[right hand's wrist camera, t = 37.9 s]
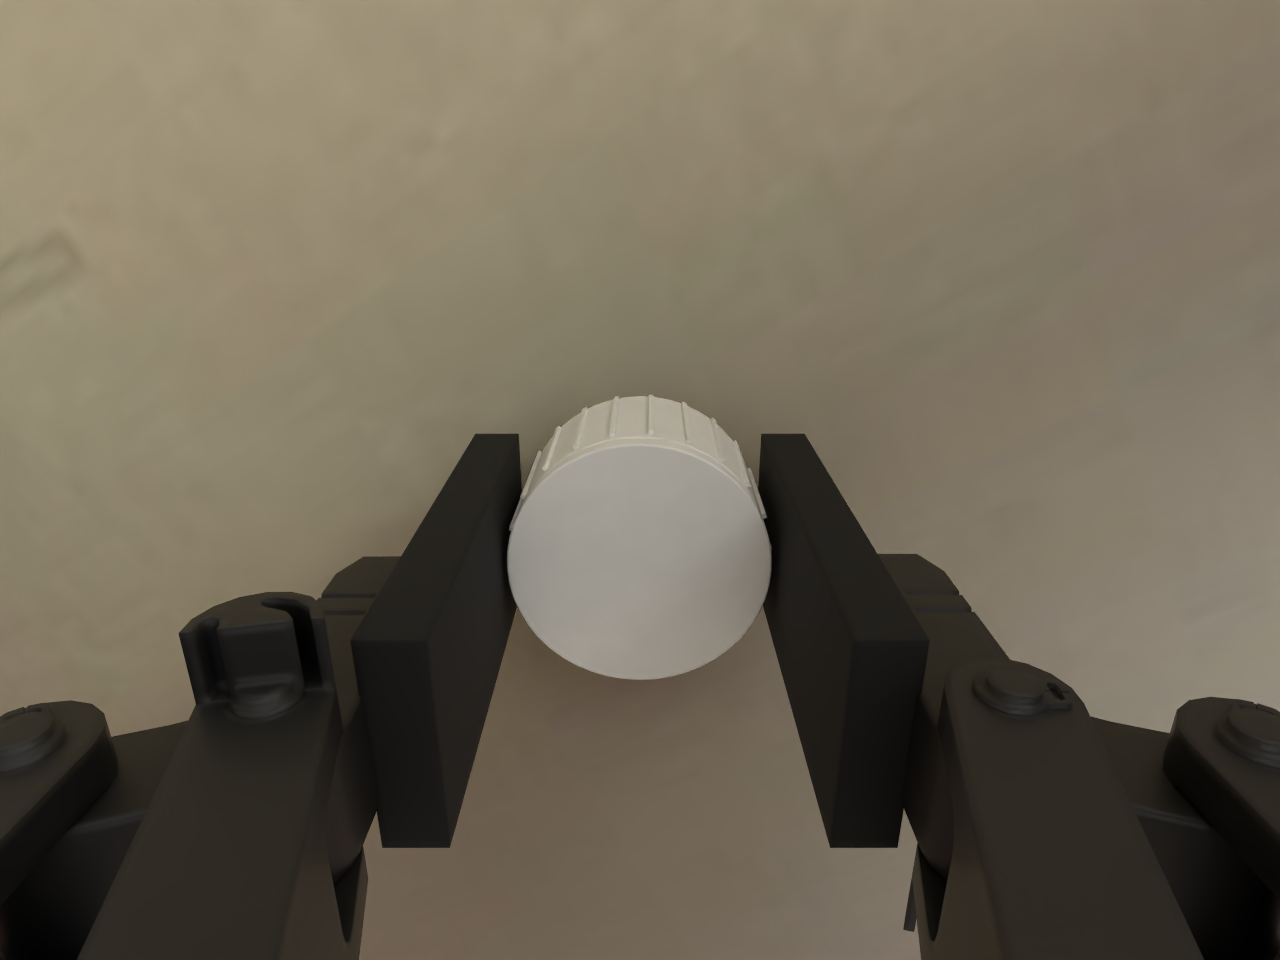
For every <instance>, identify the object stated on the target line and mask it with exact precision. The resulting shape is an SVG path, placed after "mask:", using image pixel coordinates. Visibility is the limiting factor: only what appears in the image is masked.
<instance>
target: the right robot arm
mask: <svg viewBox="0 0 1280 960" xmlns="http://www.w3.org/2000/svg"><path fill="white" fill-rule="evenodd" d="M758 492H759V495H760V498H761V501H762V504H763V507H764V510H765V513H766V516H767V518H764V519H763V520H764V523H765V526H766V530H767V533H768V536H769V540H770V543H771V546H772V551H771V553H772V571H771V578H770V585H769V588H768V591H767V595H766V598H765V601H764V603H763V607H764V611H765V615H766V618H767V622H768V625H769V629H770V633H771V636H772V640H773V643H774V647H775V651H776V654H777V658H778V661H779V665H780V669H781V672H782V676H783V679H784V683H785V687H786V690H787V694H788V697H789V701H790V705H791V708H792V712H793V715H794V719H795V723H796V726H797V730H798V733H799V737H800V741H801V744H802V748H803V751H804V755H805V759H806V762H807V766H808V769H809V773H810V777H811V780H812V784H813V787H814V791H815V795H816V798H817V802H818V805H819V809H820V813H821V816H822V820H823V823H824V827H825V831H826V834H827V838H828V841H829V845H830V848H898V841H899V835H900V829H901V822H902V816H903V809H904V810H905V812H906V815H907V817H908V819H909V822H910V824H911V827H912V829H913V832H914V834H915V837H916V839H917V841H918V844H917V849H916V855H915V861H914V867H913V873H912V879H911V885H910V891H909V897H908V903H907V909H906V915H905V922H904V929H903V930H907V931H913V932H914V929H915V924H916V919H917V925H918V934H919V943H920V952H921V960H1280V712H1279V711H1277V710H1275V709H1273V708H1271V707H1267V706H1264V705H1261V704H1258V703H1257V705H1256V704H1254V703H1253V702H1249V701H1245V700H1240V699H1227V698H1217V697H1207V698H1201V699H1194V700H1189V701H1188V702H1186V703H1185V704H1184V705H1183V706H1181V707H1180V708H1179V709H1177V712H1176V715H1175V718H1174V722H1173V725H1172V728H1171V732H1170V733H1165V732H1160V731H1155V730H1150V729H1145V728H1140V727H1134V726H1129V725H1124V724H1119V723H1114V722H1109V721H1106V720H1102V719H1098V718H1094V717H1090V715H1089V713H1088V711H1087V709H1086V707H1085V705H1084V703H1083V702H1082V700H1081V699H1080V698H1079V697H1078V695H1077V694H1076V693H1075V692H1074V690H1073V689H1072V688H1071V687H1070V686H1068V685H1067V684H1065V683H1064V682H1062V681H1061V680H1059V679H1058V678H1056V677H1055V676H1054V675H1052V674H1050V673H1048V672H1045V671H1043V670H1041V669H1038V668H1036V667H1033V666H1031V665H1028V664H1026V663H1021V662H1016V661H1012V660H1010V659H1009V658H1008V656H1007V655H1006V654H1005V652H1004V651H1003V650H1002V648H1001V647H1000V646H999V644H998V643H997V642H996V640H995V639H994V638H993V636H992V635H991V634H990V632H989V631H988V630H987V628H986V627H985V626H984V624H983V623H982V621H981V620H980V619H979V617H978V616H977V615H976V613H975V612H971V607H970V605H969V604H968V603H967V601H966V600H965V599H964V597H963V596H962V595H959V591H958V589H957V588H956V587H955V585H954V584H953V583H952V581H951V580H950V579H949V577H948V576H947V574H946V573H945V572H944V571H943V570H941V569H940V568H938V567H937V566H935V565H933V564H932V563H930V562H929V561H927V560H925V559H924V558H922V557H921V556H919V555H918V554H877V553H876V551H875V549H874V548H873V546H872V544H871V543H870V541H869V539H868V538H867V536H866V534H865V533H864V531H863V530H862V528H861V526H860V525H859V523H858V521H857V520H856V518H855V516H854V515H853V513H852V511H851V510H850V508H849V506H848V505H847V503H846V502H845V500H844V498H843V497H842V495H841V493H840V492H839V490H838V488H837V487H836V485H835V483H834V482H833V480H832V478H831V477H830V475H829V473H828V472H827V470H826V469H825V467H824V465H823V464H822V462H821V460H820V459H819V457H818V455H817V454H816V452H815V450H814V449H813V447H812V445H811V444H810V442H809V441H808V439H807V437H806V436H805V434H761V451H760V468H759V485H758ZM521 493H522V485H521V468H520V451H519V434H475V436H474V437H473V439H472V441H471V442H470V444H469V446H468V447H467V449H466V450H465V452H464V454H463V455H462V457H461V459H460V460H459V462H458V464H457V465H456V467H455V469H454V470H453V472H452V474H451V475H450V477H449V478H448V480H447V482H446V483H445V485H444V487H443V488H442V490H441V492H440V493H439V495H438V497H437V498H436V500H435V502H434V503H433V505H432V507H431V508H430V510H429V511H428V513H427V515H426V516H425V518H424V520H423V521H422V523H421V525H420V526H419V528H418V530H417V531H416V533H415V535H414V536H413V538H412V539H411V541H410V543H409V544H408V546H407V548H406V549H405V551H404V553H403V554H402V556H401V557H362V558H361V559H359V560H357V561H356V562H354V563H353V564H351V565H350V566H348V567H346V568H345V569H343V570H342V571H340V572H339V573H337V574H336V575H335V576H334V578H333V579H332V581H331V582H330V583H329V585H328V586H327V587H326V589H325V590H324V591H323V593H322V597H321V598H318V599H317V601H316V600H315V599H314V598H312V597H311V596H307V595H302V594H298V593H294V592H266V593H260V594H255V595H249V596H244V597H239V598H236V599H233V600H231V601H228V602H225V603H222V604H219V605H216V606H214V607H212V608H210V609H208V610H207V611H205V612H203V613H202V614H200V615H198V616H196V617H195V618H193V619H192V620H191V621H190V622H189V623H188V624H187V625H186V626H185V627H184V628H183V629H182V630H181V631H180V632H179V637H180V641H181V645H182V649H183V653H184V657H185V661H186V665H187V669H188V673H189V677H190V681H191V685H192V689H193V694H194V698H195V702H196V706H195V708H194V710H193V712H192V715H191V717H190V719H189V720H188V721H184V722H181V723H177V724H173V725H169V726H164V727H159V728H154V729H149V730H143V731H138V732H133V733H128V734H123V735H118V736H113V737H111V735H110V732H109V728H108V725H107V722H106V718H105V715H104V713H103V712H102V711H100V710H99V709H98V708H97V707H95V706H94V705H93V704H89V703H83V702H77V701H61V702H51V703H40V704H35V705H30V706H28V707H27V708H24V707H23V708H19V709H16V710H13V711H10V712H8V713H5V714H4V715H2V716H1V717H0V960H359V954H360V945H361V936H362V927H363V919H364V910H365V901H366V892H367V884H368V875H367V868H366V861H365V855H364V849H363V843H364V841H365V838H366V836H367V833H368V831H369V828H370V826H371V824H372V821H373V819H374V816H375V814H376V811H377V815H378V822H379V828H380V835H381V841H382V848H450V845H451V842H452V838H453V834H454V831H455V827H456V824H457V820H458V816H459V813H460V809H461V805H462V802H463V798H464V795H465V791H466V787H467V784H468V780H469V777H470V773H471V769H472V766H473V762H474V759H475V755H476V751H477V748H478V744H479V741H480V737H481V733H482V730H483V726H484V723H485V719H486V715H487V712H488V708H489V705H490V701H491V697H492V694H493V690H494V687H495V683H496V679H497V676H498V672H499V669H500V665H501V661H502V658H503V654H504V651H505V647H506V643H507V640H508V636H509V633H510V629H511V625H512V622H513V618H514V615H515V611H516V607H517V605H516V602H515V600H514V598H513V595H512V591H511V588H510V584H509V579H508V572H507V549H508V543H509V537H510V533H511V531H510V530H509V527H510V524H511V521H512V519H513V516H514V514H515V511H516V508H517V506H518V503H519V501H520V496H521Z"/></svg>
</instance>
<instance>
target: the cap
mask: <svg viewBox="0 0 1280 960" xmlns="http://www.w3.org/2000/svg"><path fill="white" fill-rule="evenodd" d="M764 518H767V516H766V513H765V510H764V507H763V504H762V501H761V498H760V495H759V492H758V488H757V485H756V482H755V479H754V476H753V473H752V470H751V468H749V469H747V467H746V464H745V462H744V460H743V457H742V454H741V451H740V448H739V445H738V443H737V441H736V440H735V441H732V439H731V438H730V437H729V436H728V435H727V434H726V433H725V431H724V430H723V429H722V428H721V427H719V426H718V425H717V423H716V420H715V419H714V418H713V417H712V418H711V419H710V418H708V417H707V416H705V415H704V414H702V413H701V412H699V411H697V410H695V409H693V408H691V407H689V406H687V403H685V402H682V403H678V402H675V401H672V400H668V399H663V398H658V397H653V395H648V397H646V396H635V397H623V398H619V396H617V397H614V399H613V400H609V401H606V402H603V403H600V404H597V405H594V406H592V407H590V408H588V409H587V407H585V408H583V409H582V412H580V413H579V414H577V415H576V416H574V417H573V418H571V419H570V420H569V421H568V422H566V423H565V424H564V425H563V426H562V427H560V426H558V427H557V428H556V429H555V432H554V435H553V436H552V437H551V439H550V440H549V441H548V443H547V444H546V446H545V447H544V449H543V450H542V452H541V451H538V453H537V455H536V457H535V460H534V463H533V465H532V468H531V470H530V473H529V475H528V478H527V481H526V483H525V486H524V488H523V491H522V493H521V496H520V501H519V503H518V506H517V508H516V511H515V514H514V516H513V519H512V521H511V524H510V527H509V530H510V531H511V533H510V537H509V543H508V549H507V572H508V579H509V584H510V588H511V591H512V595H513V598H514V600H515V602H516V605H517V607H518V609H519V611H520V613H521V615H522V616H523V618H524V619H525V621H526V623H527V624H528V626H529V627H530V628H531V629H532V631H533V632H534V633H535V634H536V635H537V637H538V638H539V639H540V640H541V641H542V642H544V643H545V644H546V645H547V646H548V647H549V648H550V649H551V650H553V651H554V652H555V653H557V654H558V655H560V656H561V657H562V658H564V659H566V660H568V661H569V662H571V663H573V664H575V665H577V666H579V667H581V668H584V669H586V670H589V671H591V672H594V673H598V674H601V675H605V676H609V677H615V678H620V679H632V680H648V679H660V678H666V677H672V676H675V675H679V674H683V673H686V672H689V671H691V670H694V669H696V668H699V667H701V666H703V665H705V664H707V663H709V662H711V661H712V660H714V659H716V658H717V657H719V656H720V655H722V654H723V653H724V652H726V651H727V650H729V649H730V648H731V647H732V646H733V645H734V644H735V643H736V642H737V641H738V640H740V638H741V637H742V636H743V635H744V634H745V633H746V631H747V630H748V629H749V628H750V626H751V625H752V623H753V622H754V620H755V619H756V617H757V615H758V614H759V612H760V610H761V607H762V605H763V603H764V601H765V598H766V595H767V591H768V588H769V585H770V578H771V571H772V553H771V551H772V546H771V543H770V540H769V536H768V533H767V530H766V526H765V523H764V520H763V519H764Z"/></svg>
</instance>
